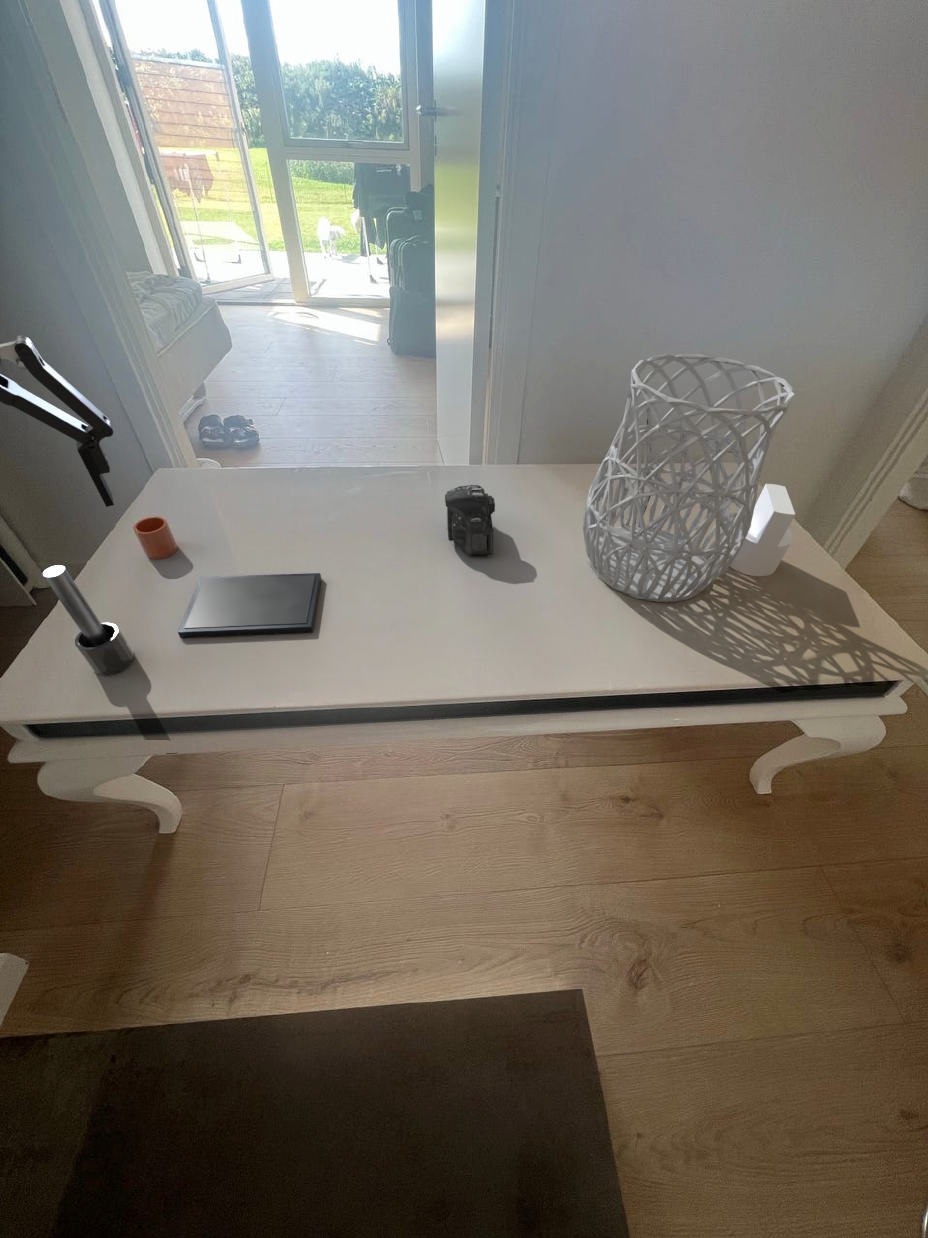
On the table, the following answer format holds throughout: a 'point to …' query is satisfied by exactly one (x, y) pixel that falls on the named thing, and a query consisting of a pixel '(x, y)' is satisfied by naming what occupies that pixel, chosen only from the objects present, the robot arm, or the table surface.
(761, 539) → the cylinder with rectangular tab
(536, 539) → the table surface
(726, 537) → the vase
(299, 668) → the table surface
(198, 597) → the tablet
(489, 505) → the camera
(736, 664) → the table surface
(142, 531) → the pen cup
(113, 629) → the pen stand
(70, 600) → the silver metal rod
